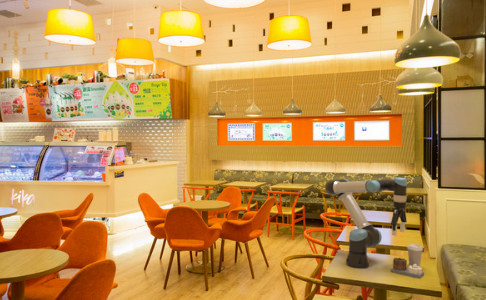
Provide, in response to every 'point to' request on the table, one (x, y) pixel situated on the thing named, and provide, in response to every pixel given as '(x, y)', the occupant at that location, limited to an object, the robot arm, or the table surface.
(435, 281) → the table surface
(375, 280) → the table surface
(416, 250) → the coffee cup
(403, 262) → the walnut gear
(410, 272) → the gear board
